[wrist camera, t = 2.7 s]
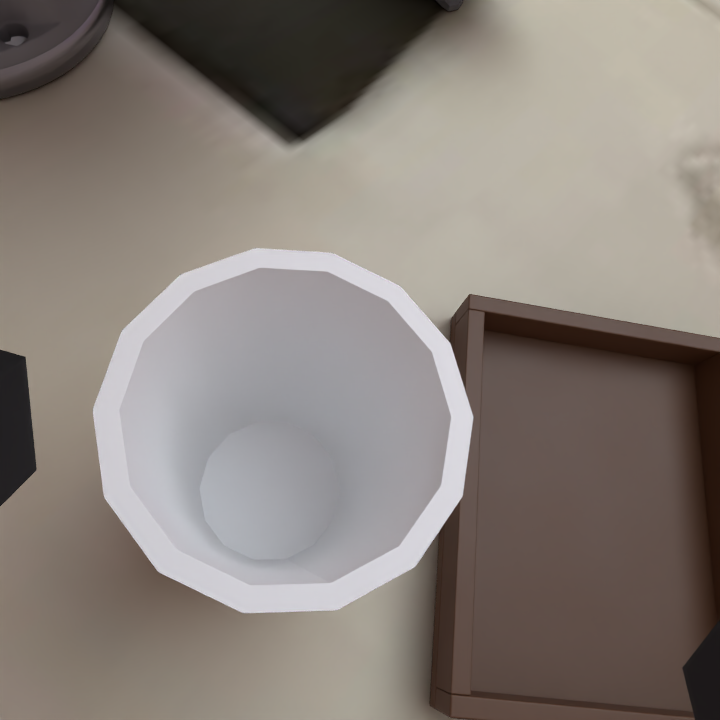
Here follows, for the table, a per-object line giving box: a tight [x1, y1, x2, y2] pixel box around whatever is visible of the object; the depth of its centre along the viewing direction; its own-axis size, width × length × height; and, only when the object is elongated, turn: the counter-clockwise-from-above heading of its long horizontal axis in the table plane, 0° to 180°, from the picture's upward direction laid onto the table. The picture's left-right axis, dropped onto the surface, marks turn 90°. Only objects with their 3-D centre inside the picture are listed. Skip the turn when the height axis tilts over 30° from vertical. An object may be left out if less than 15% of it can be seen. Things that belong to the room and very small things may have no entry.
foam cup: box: [93, 248, 473, 613], centre depth 22 cm, size 10×9×13 cm
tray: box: [430, 294, 720, 720], centre depth 29 cm, size 18×14×3 cm
